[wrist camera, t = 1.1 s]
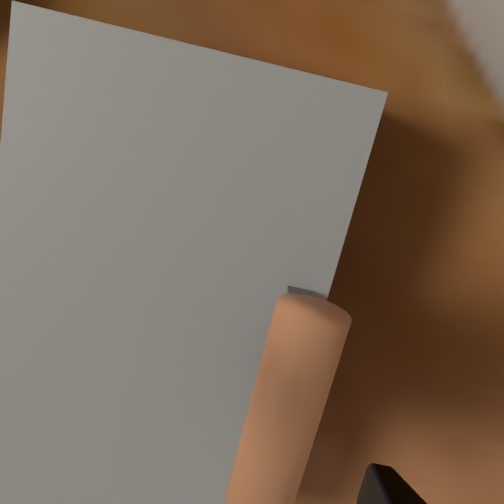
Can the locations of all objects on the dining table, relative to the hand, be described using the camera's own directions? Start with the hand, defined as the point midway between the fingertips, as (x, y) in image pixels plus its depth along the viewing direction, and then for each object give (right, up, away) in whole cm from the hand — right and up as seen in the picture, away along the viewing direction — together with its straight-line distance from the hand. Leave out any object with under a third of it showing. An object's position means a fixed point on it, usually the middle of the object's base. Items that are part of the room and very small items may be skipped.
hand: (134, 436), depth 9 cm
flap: (-1, +1, +9) cm, 9 cm away
